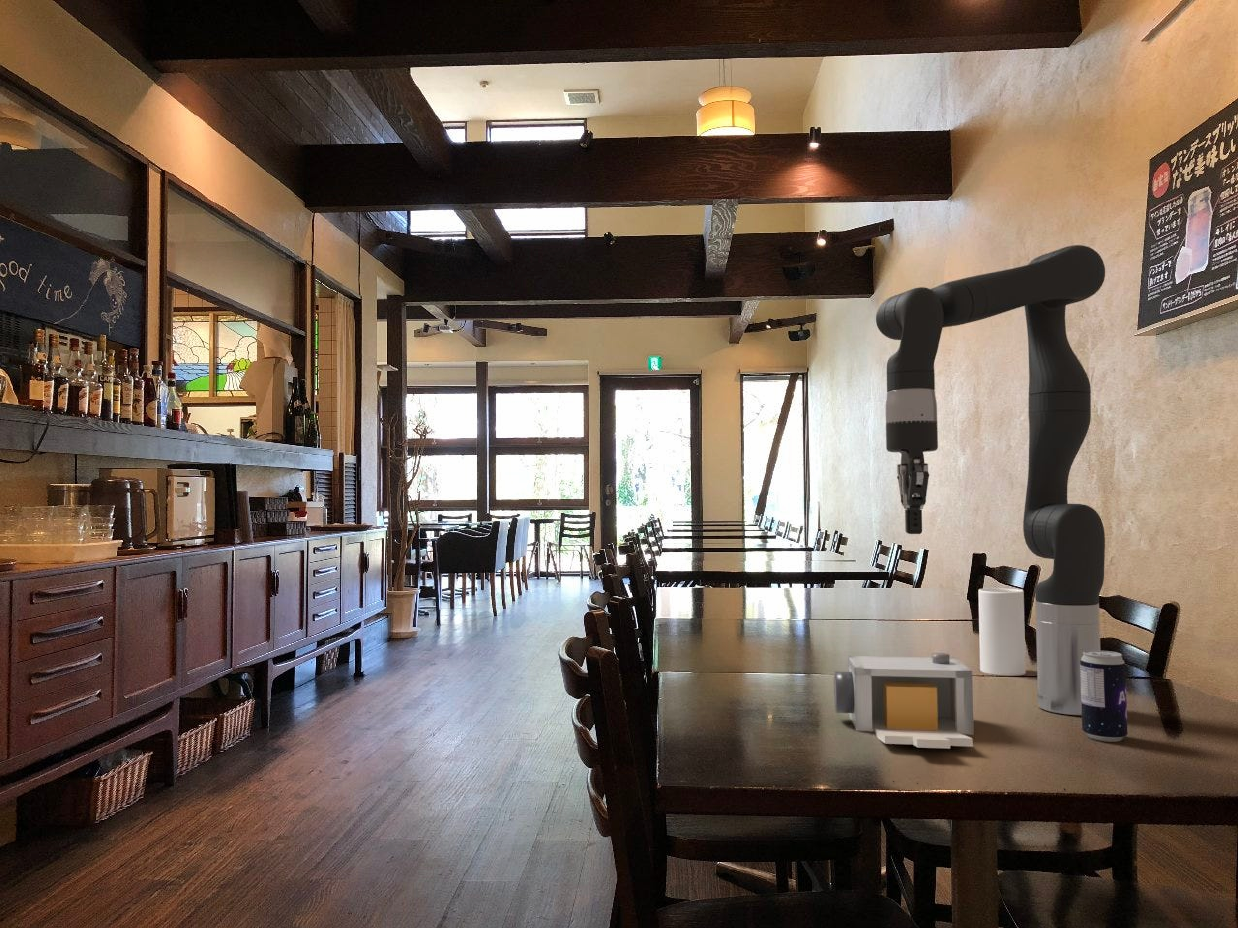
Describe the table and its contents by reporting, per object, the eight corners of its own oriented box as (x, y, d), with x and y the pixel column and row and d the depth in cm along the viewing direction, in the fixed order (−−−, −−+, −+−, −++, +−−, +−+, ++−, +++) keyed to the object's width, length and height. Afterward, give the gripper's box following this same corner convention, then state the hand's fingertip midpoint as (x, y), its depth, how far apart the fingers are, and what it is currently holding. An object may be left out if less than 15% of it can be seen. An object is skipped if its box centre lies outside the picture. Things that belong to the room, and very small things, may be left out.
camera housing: (957, 724, 133) (955, 650, 133) (973, 742, 123) (972, 662, 123) (833, 720, 136) (831, 647, 136) (839, 738, 126) (838, 659, 126)
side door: (955, 730, 123) (978, 740, 110) (956, 739, 123) (979, 750, 110) (874, 727, 125) (888, 737, 112) (875, 736, 125) (888, 747, 112)
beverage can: (1126, 745, 121) (1124, 658, 122) (1080, 739, 124) (1078, 654, 125) (1128, 735, 126) (1125, 651, 126) (1084, 730, 129) (1081, 648, 129)
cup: (1028, 670, 174) (1026, 589, 175) (1022, 677, 167) (1020, 593, 168) (984, 666, 178) (982, 587, 179) (976, 673, 171) (974, 590, 172)
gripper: (946, 416, 127) (949, 535, 127) (928, 423, 141) (930, 531, 140) (892, 417, 129) (895, 535, 128) (879, 424, 142) (882, 532, 141)
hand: (913, 533), depth 134 cm, fingers closed
